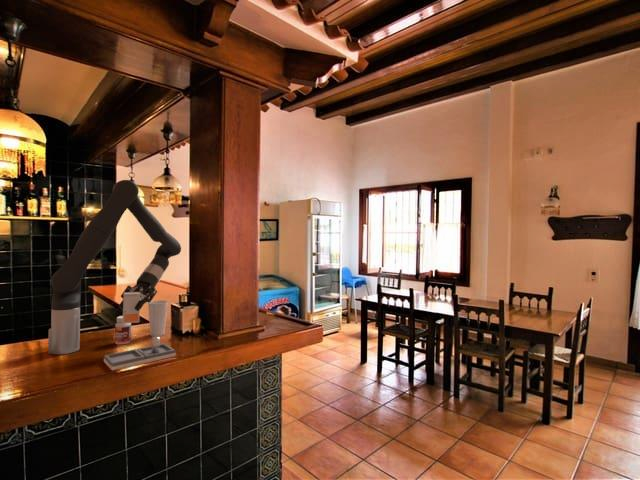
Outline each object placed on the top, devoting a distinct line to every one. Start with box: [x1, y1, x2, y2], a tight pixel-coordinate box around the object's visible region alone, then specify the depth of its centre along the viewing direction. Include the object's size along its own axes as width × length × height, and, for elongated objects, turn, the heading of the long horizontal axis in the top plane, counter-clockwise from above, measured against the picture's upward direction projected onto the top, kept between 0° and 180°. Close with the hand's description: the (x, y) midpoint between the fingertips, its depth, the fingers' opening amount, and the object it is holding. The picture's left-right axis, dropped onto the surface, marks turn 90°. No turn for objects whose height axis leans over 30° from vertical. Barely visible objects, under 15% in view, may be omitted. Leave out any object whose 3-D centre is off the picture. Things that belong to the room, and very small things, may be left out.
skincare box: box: [122, 291, 141, 324], centre depth 140 cm, size 6×4×12 cm
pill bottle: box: [114, 315, 132, 346], centre depth 150 cm, size 6×6×11 cm
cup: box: [147, 299, 169, 337], centre depth 162 cm, size 8×8×16 cm
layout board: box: [103, 336, 176, 371], centre depth 131 cm, size 22×11×7 cm, turn 135°
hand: (128, 308), depth 138 cm, fingers closed on skincare box, 7 cm apart
